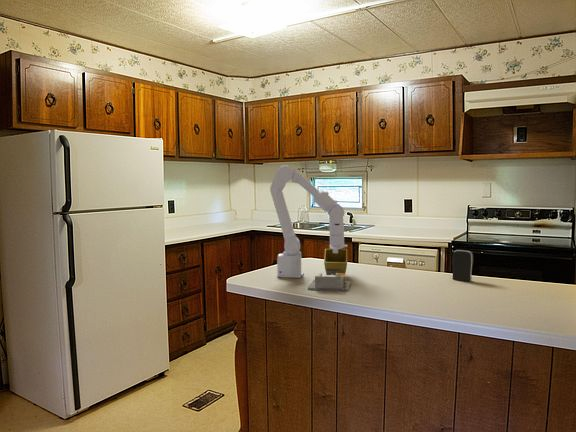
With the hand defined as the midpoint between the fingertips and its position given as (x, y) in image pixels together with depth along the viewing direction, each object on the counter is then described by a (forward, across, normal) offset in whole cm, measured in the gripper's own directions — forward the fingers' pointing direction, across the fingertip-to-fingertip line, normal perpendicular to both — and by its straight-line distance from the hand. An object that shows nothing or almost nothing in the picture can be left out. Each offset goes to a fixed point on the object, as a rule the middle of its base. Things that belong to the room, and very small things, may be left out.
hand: (337, 267), depth 180 cm
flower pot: (+2, -3, 0) cm, 3 cm away
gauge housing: (+3, -19, +1) cm, 19 cm away
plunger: (+2, -14, 0) cm, 14 cm away
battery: (+5, -1, -47) cm, 47 cm away
